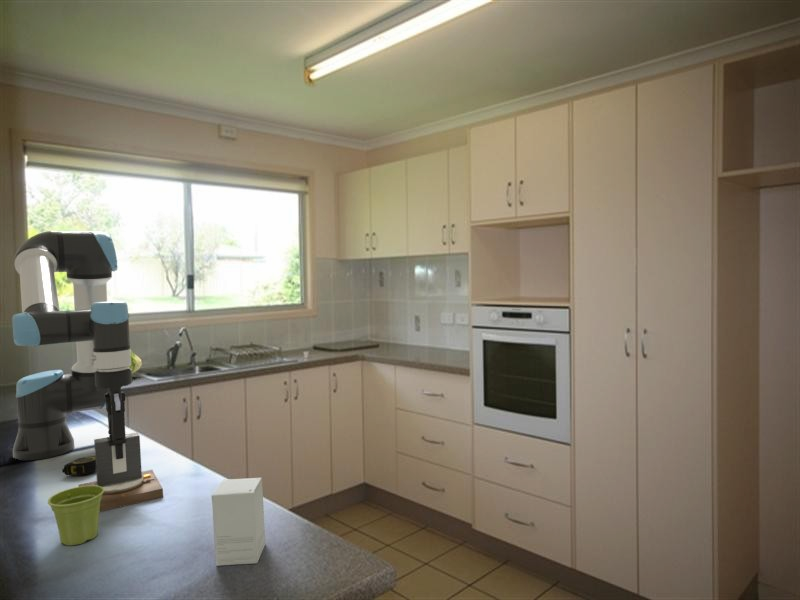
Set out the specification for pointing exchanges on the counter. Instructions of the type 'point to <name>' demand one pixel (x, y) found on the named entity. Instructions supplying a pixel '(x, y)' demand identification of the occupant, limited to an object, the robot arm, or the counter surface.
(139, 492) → the dial base plate
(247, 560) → the supplement box
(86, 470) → the tape measure
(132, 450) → the dial knob
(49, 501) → the plant pot
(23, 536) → the counter surface
